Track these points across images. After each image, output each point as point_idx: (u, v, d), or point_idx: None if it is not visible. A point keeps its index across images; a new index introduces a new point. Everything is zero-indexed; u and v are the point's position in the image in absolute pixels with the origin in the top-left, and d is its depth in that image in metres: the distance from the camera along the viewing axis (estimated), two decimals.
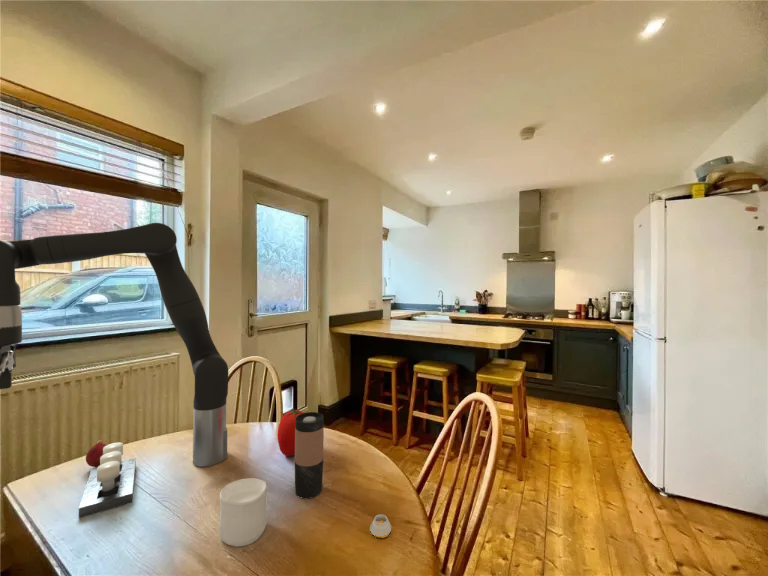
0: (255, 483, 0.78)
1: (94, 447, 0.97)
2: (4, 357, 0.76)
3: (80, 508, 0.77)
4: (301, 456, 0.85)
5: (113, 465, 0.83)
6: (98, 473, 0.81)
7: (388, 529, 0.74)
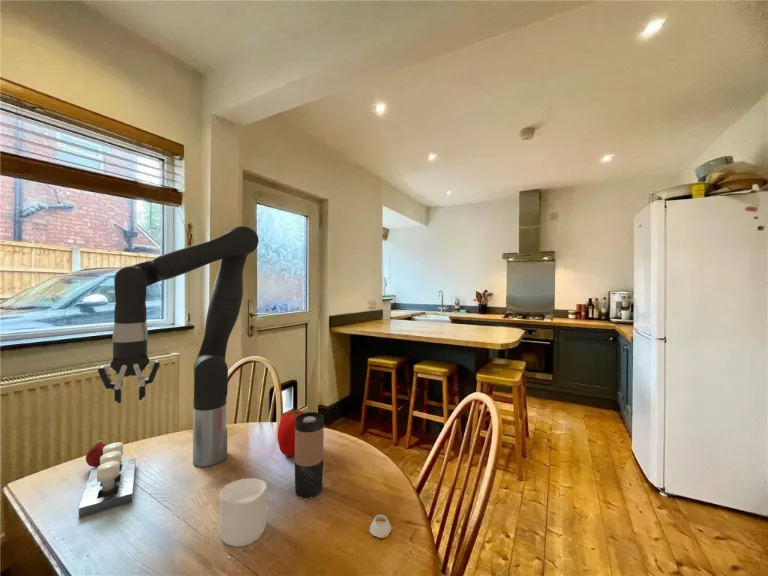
0: (255, 483, 0.78)
1: (94, 447, 0.97)
2: None
3: (80, 508, 0.77)
4: (301, 456, 0.85)
5: (113, 465, 0.83)
6: (98, 473, 0.81)
7: (388, 530, 0.74)
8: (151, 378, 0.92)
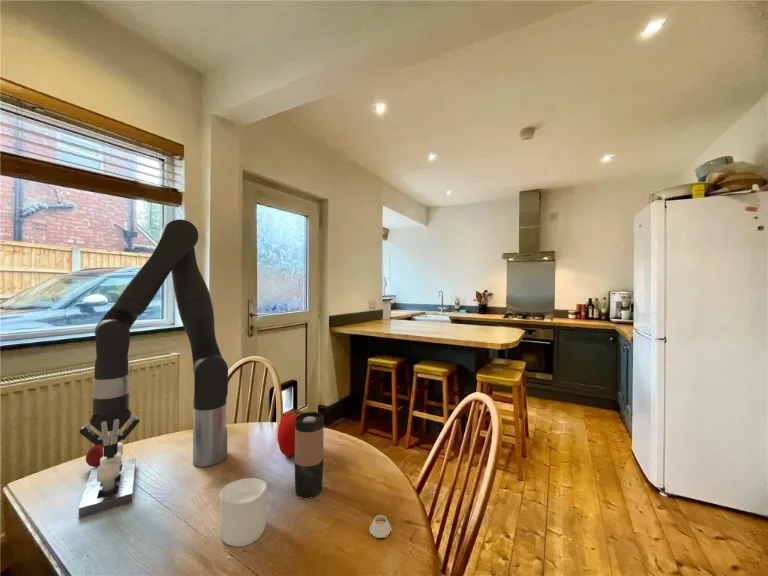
0: (255, 483, 0.78)
1: (93, 447, 0.97)
2: None
3: (80, 508, 0.77)
4: (301, 456, 0.85)
5: (113, 465, 0.83)
6: (98, 473, 0.81)
7: (387, 530, 0.73)
8: (125, 435, 0.89)
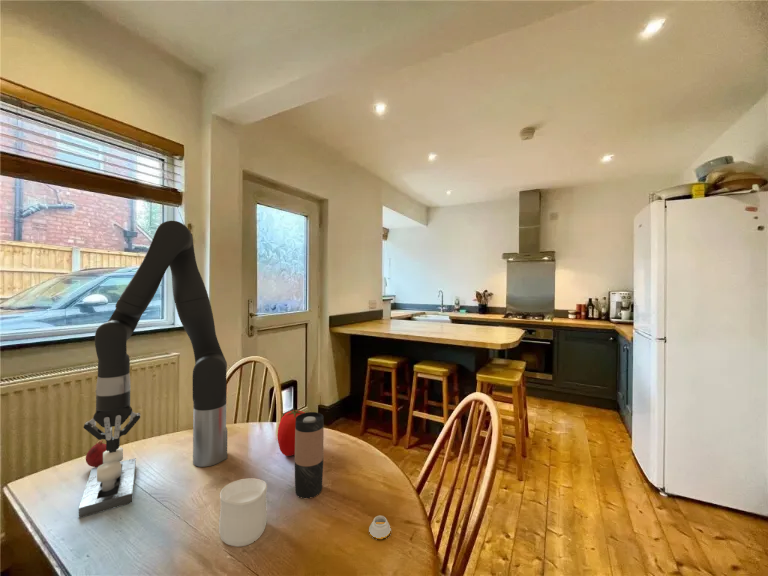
0: (255, 483, 0.78)
1: (93, 447, 0.97)
2: None
3: (80, 508, 0.77)
4: (301, 456, 0.85)
5: (113, 465, 0.83)
6: (98, 473, 0.81)
7: (387, 531, 0.73)
8: (126, 430, 0.94)
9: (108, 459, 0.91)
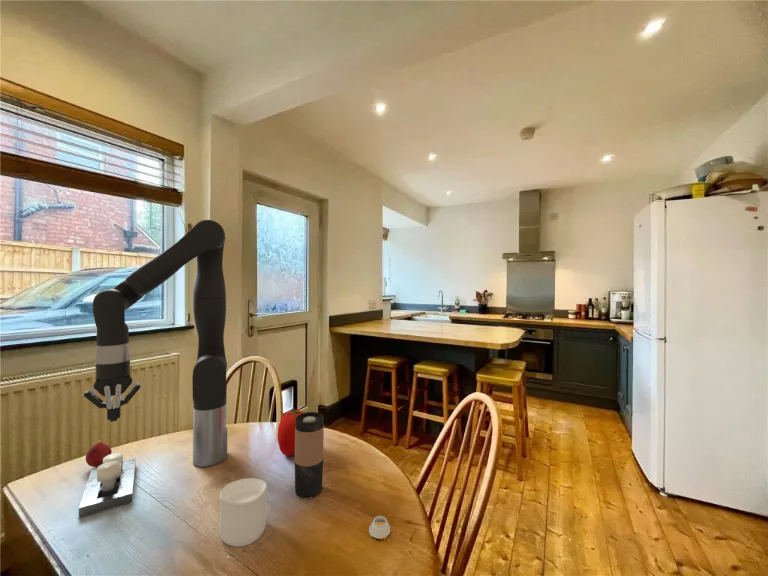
0: (255, 483, 0.78)
1: (93, 447, 0.97)
2: None
3: (80, 508, 0.77)
4: (301, 456, 0.85)
5: (113, 465, 0.83)
6: (98, 473, 0.81)
7: (387, 531, 0.73)
8: (127, 399, 0.94)
9: None
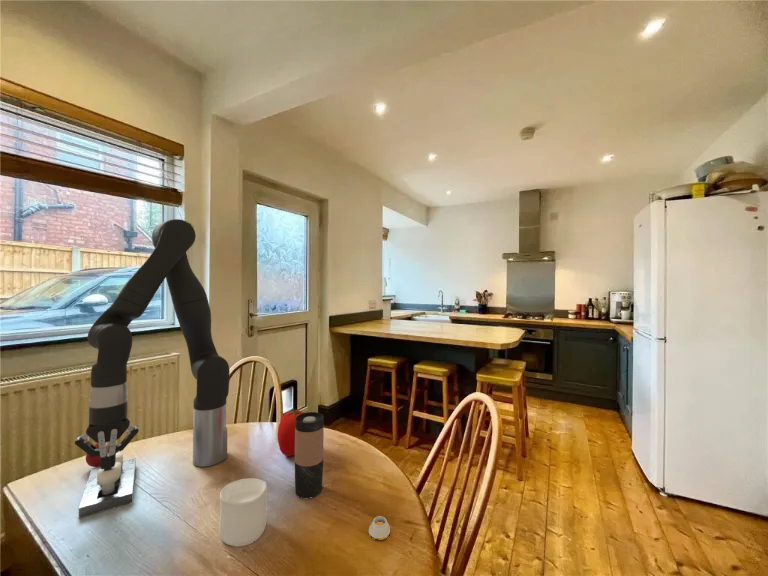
0: (255, 483, 0.78)
1: None
2: None
3: (80, 508, 0.77)
4: (301, 456, 0.85)
5: (113, 468, 0.83)
6: (98, 476, 0.81)
7: (387, 531, 0.73)
8: (123, 445, 0.84)
9: None
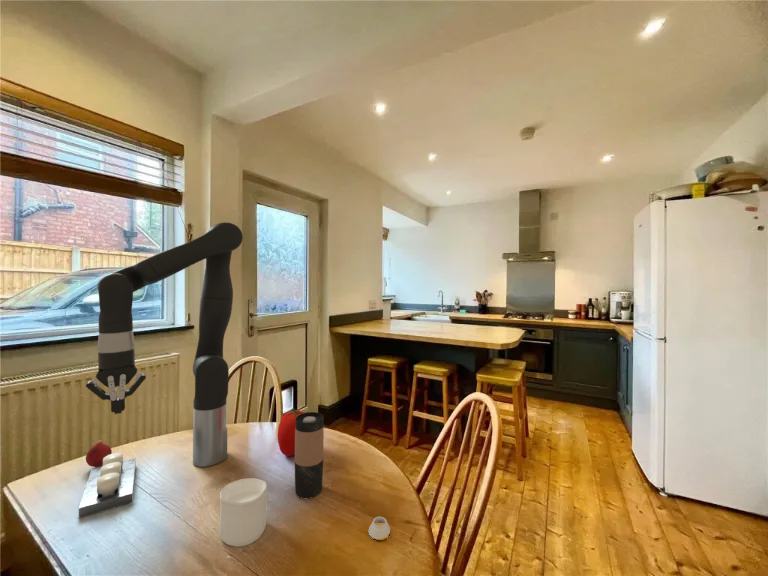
0: (255, 483, 0.78)
1: (94, 447, 0.97)
2: None
3: (80, 508, 0.77)
4: (301, 456, 0.85)
5: (113, 477, 0.83)
6: (98, 485, 0.81)
7: (387, 532, 0.73)
8: (132, 390, 0.88)
9: None
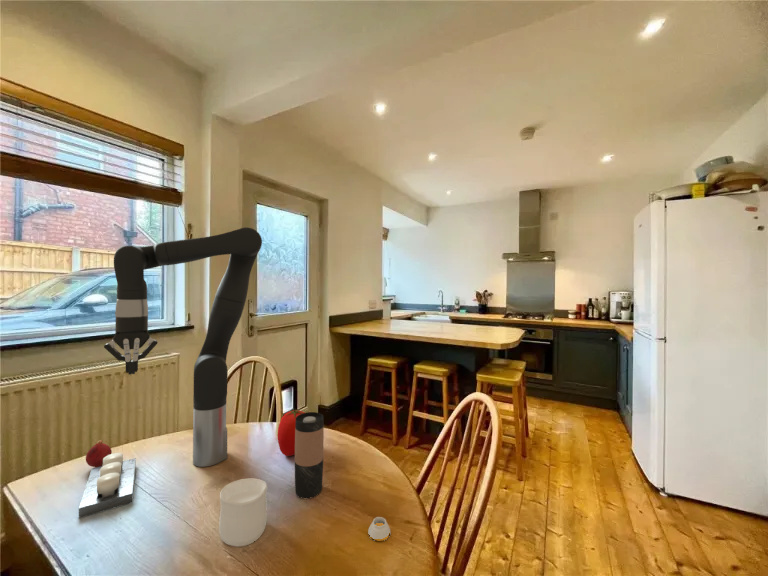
0: (255, 483, 0.78)
1: (94, 447, 0.97)
2: None
3: (80, 508, 0.77)
4: (301, 456, 0.85)
5: (113, 477, 0.83)
6: (98, 485, 0.81)
7: (386, 532, 0.73)
8: (144, 354, 0.97)
9: None
